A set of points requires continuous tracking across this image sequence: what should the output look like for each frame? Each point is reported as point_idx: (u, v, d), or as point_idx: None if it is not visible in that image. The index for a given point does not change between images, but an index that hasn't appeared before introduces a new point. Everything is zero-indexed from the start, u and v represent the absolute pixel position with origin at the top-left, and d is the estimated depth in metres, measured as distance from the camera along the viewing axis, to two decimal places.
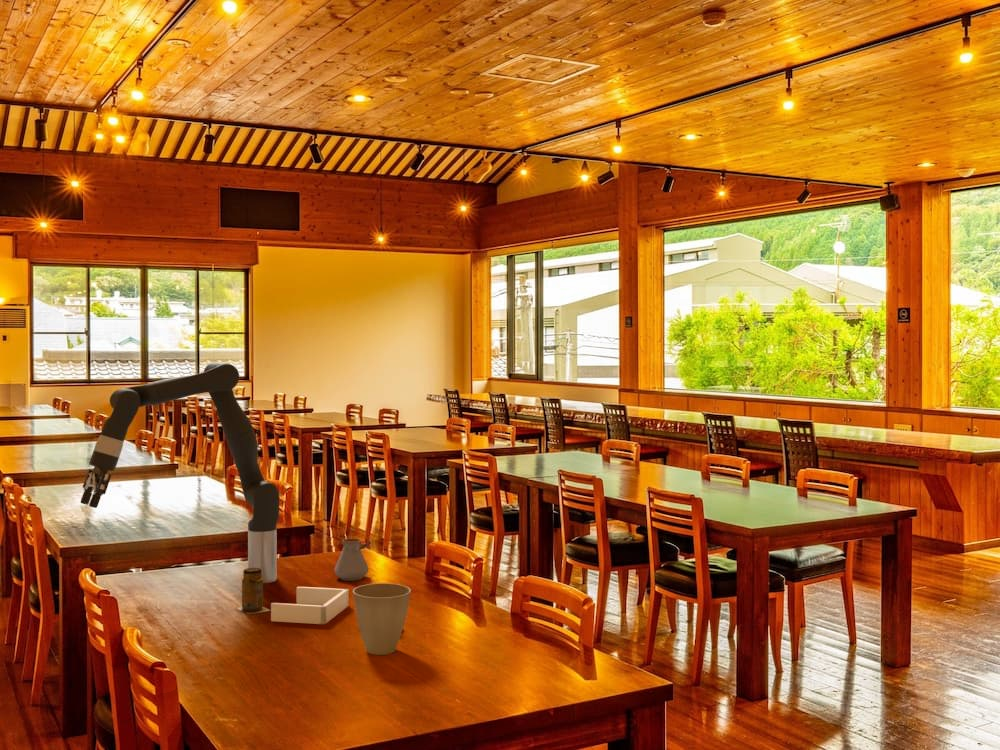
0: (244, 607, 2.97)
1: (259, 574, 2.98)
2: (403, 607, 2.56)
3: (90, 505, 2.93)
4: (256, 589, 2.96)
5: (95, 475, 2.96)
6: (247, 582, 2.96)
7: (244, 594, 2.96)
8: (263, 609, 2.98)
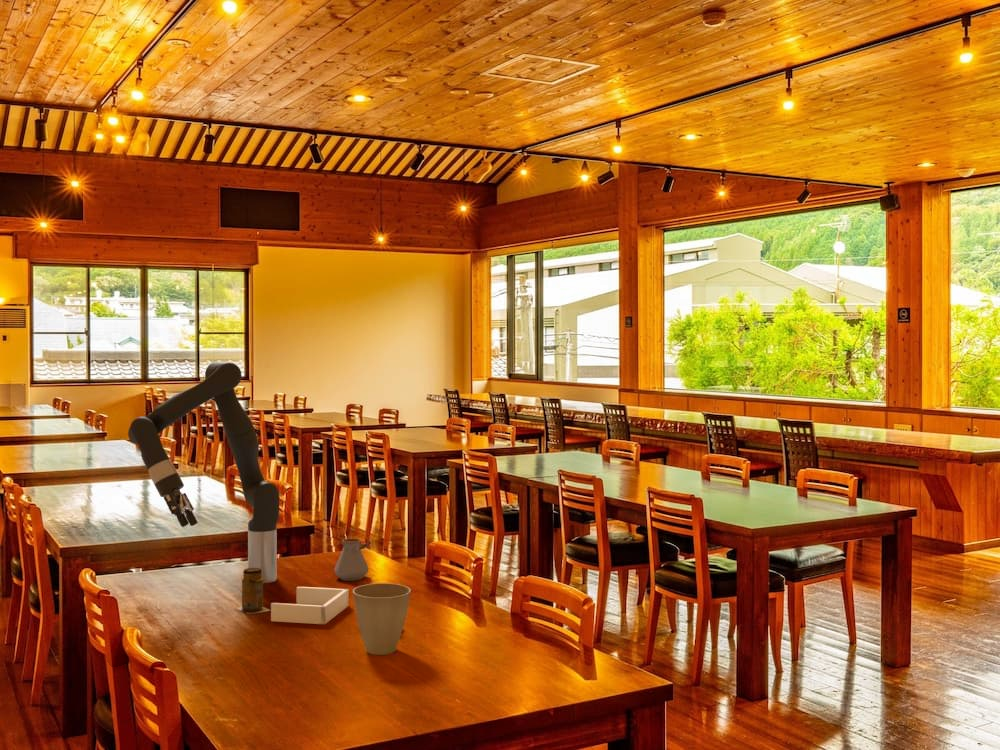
0: (244, 607, 2.97)
1: (259, 574, 2.98)
2: (403, 607, 2.56)
3: (182, 526, 2.98)
4: (256, 589, 2.96)
5: None
6: (247, 582, 2.96)
7: (244, 594, 2.96)
8: (263, 609, 2.98)
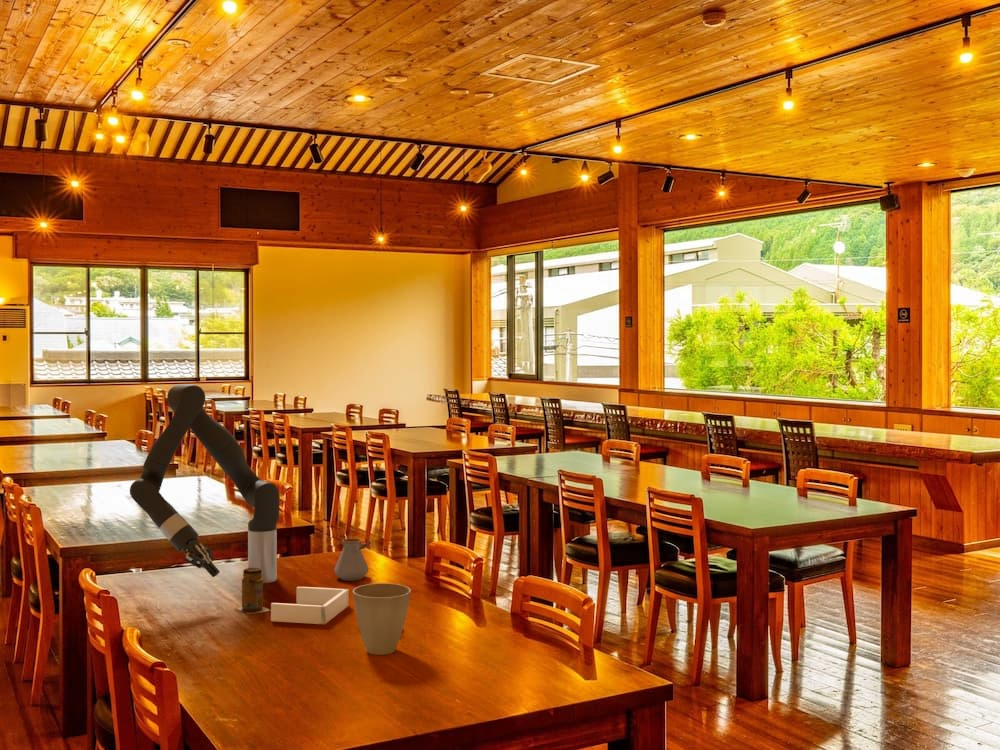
0: (244, 607, 2.97)
1: (259, 574, 2.98)
2: (403, 607, 2.56)
3: (213, 576, 2.99)
4: (256, 589, 2.96)
5: None
6: (247, 582, 2.96)
7: (244, 594, 2.96)
8: (263, 609, 2.98)
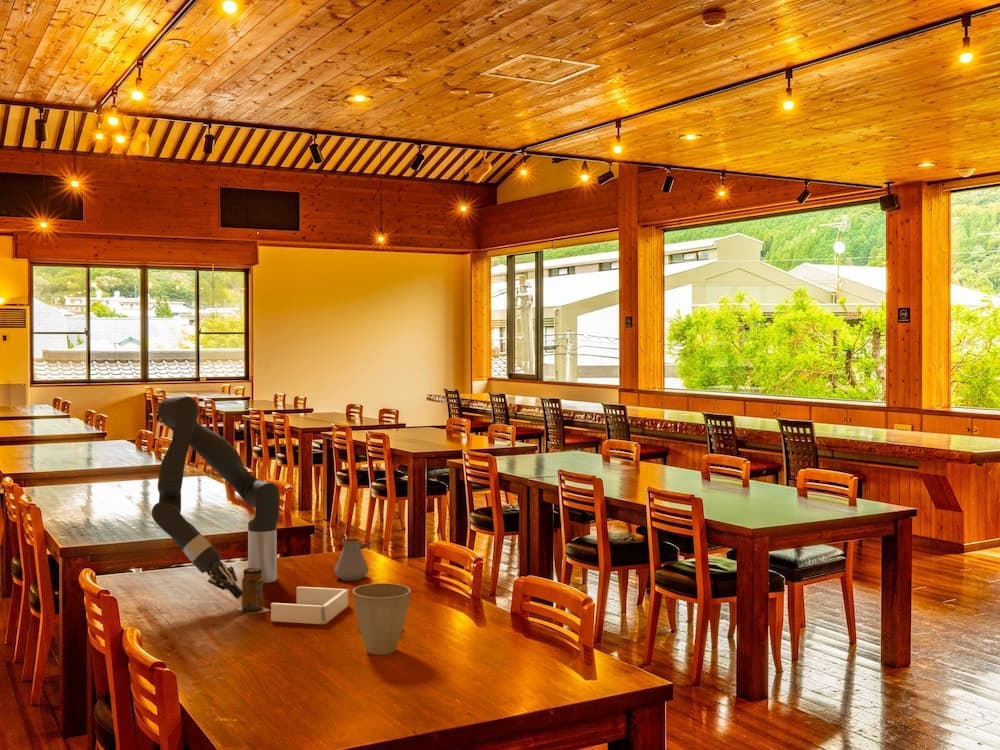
0: (244, 607, 2.97)
1: (259, 574, 2.98)
2: (403, 607, 2.56)
3: (236, 597, 2.98)
4: (256, 589, 2.96)
5: None
6: (247, 582, 2.96)
7: (244, 594, 2.96)
8: (263, 609, 2.98)
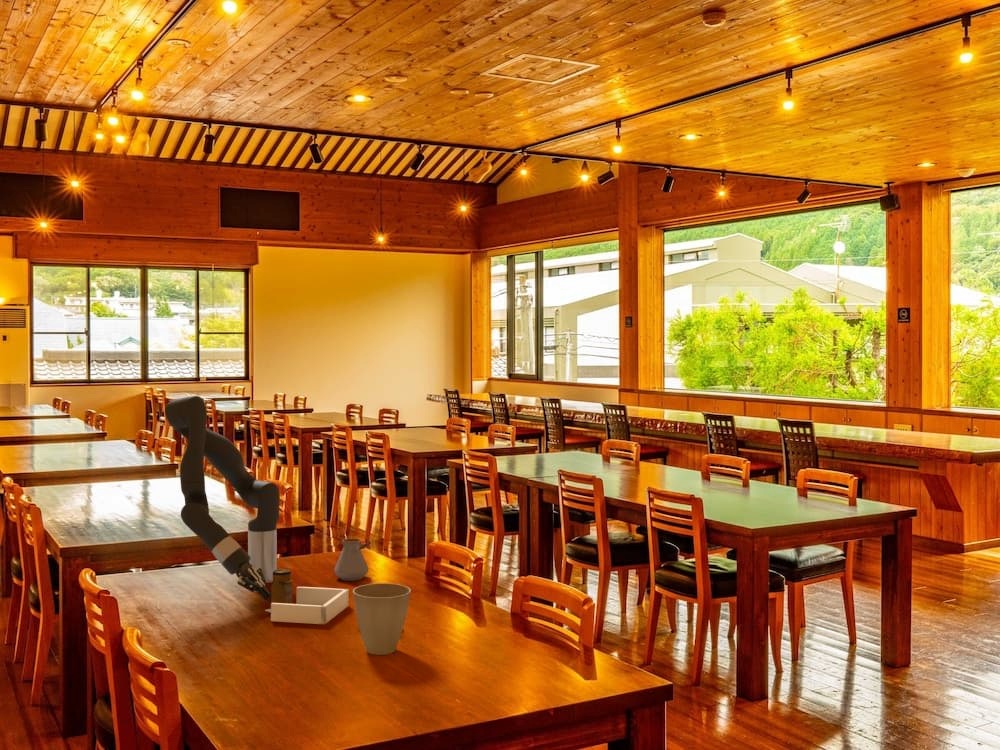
0: None
1: (289, 575, 2.96)
2: (403, 607, 2.56)
3: (265, 600, 2.96)
4: (286, 590, 2.95)
5: None
6: (277, 583, 2.94)
7: (274, 596, 2.95)
8: None
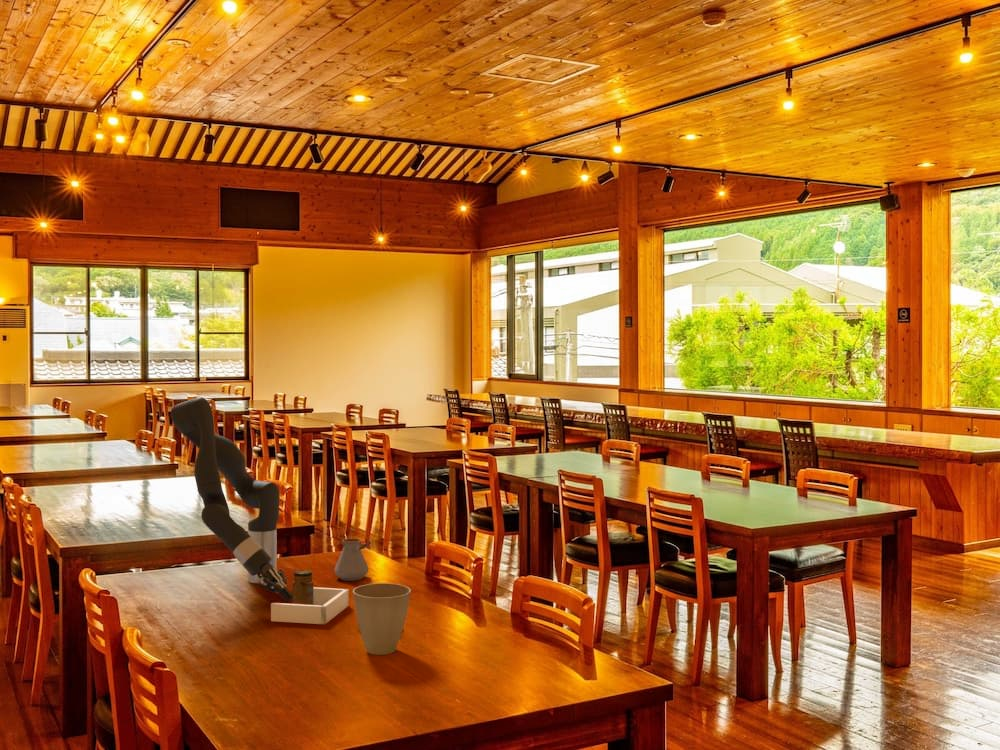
0: None
1: (310, 576, 2.95)
2: (403, 607, 2.56)
3: (287, 601, 2.95)
4: (308, 592, 2.93)
5: None
6: (298, 584, 2.93)
7: (295, 597, 2.93)
8: None
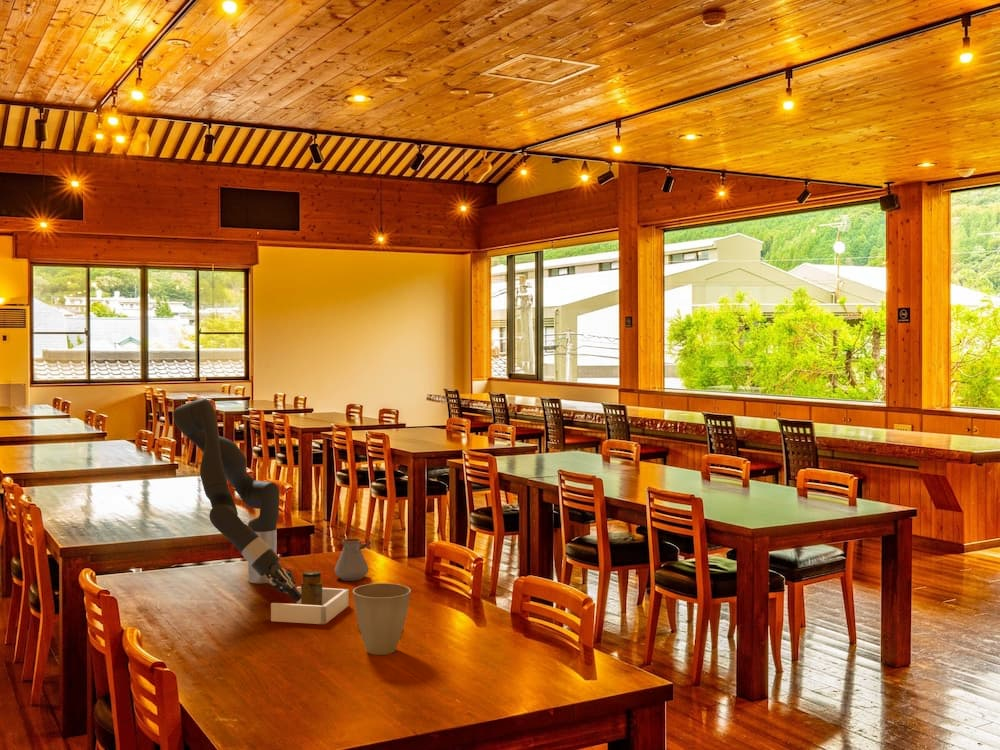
0: None
1: (319, 577, 2.94)
2: (403, 607, 2.56)
3: (296, 601, 2.95)
4: (316, 592, 2.93)
5: None
6: (307, 585, 2.92)
7: (304, 598, 2.93)
8: None
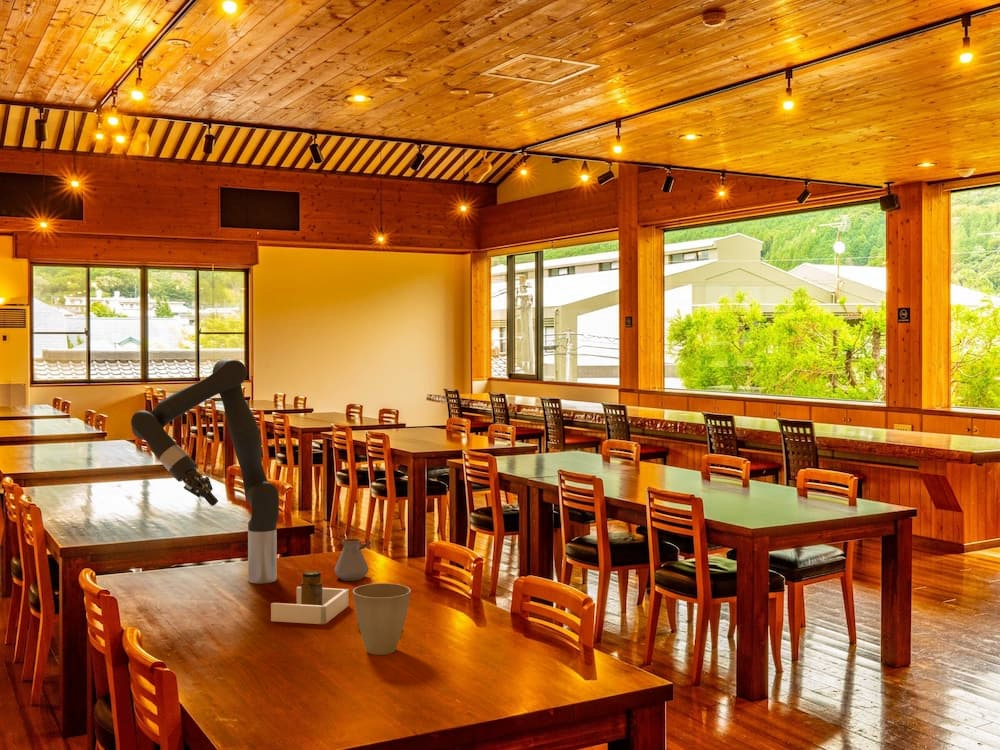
0: None
1: (319, 577, 2.94)
2: (403, 607, 2.56)
3: (211, 505, 3.07)
4: (316, 592, 2.93)
5: None
6: (307, 585, 2.92)
7: (304, 598, 2.93)
8: None
